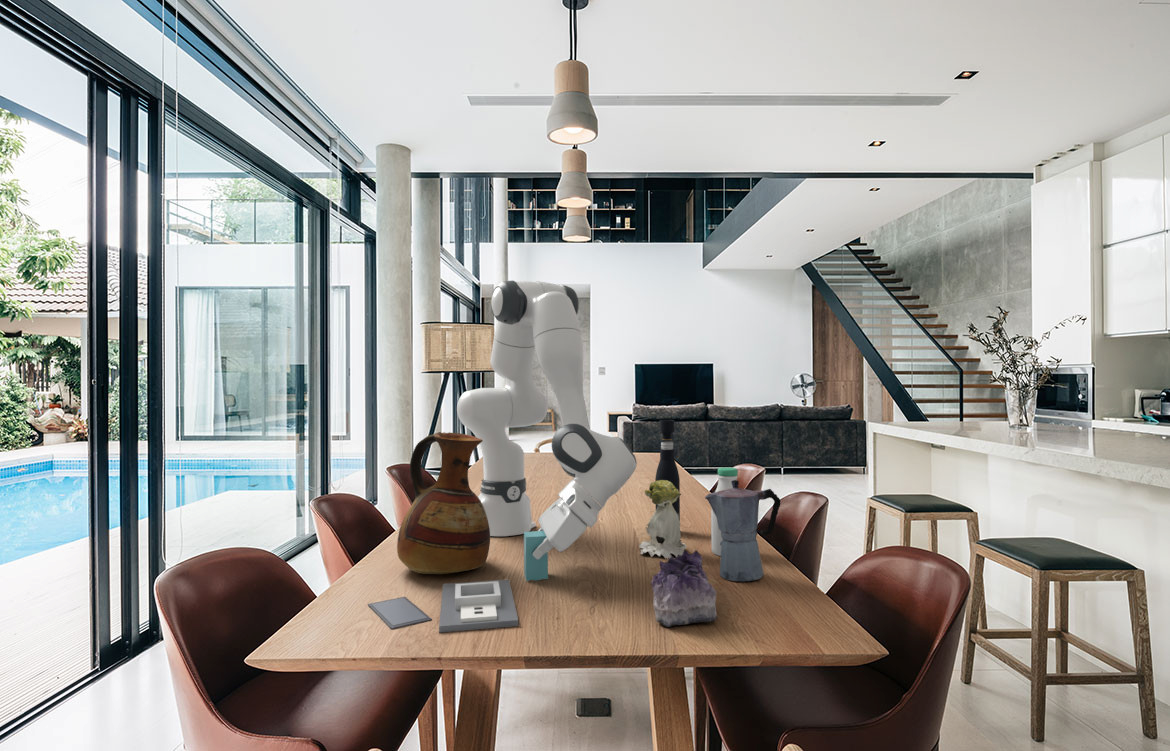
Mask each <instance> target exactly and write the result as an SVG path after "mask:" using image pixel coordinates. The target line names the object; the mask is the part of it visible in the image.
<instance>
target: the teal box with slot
mask: <svg viewBox="0 0 1170 751" xmlns="http://www.w3.org/2000/svg"><path fill="white" fill-rule="evenodd" d="M545 538H546V535H545V533H544V531H538V530H536V531H534V530H533V531H529V532H524V533H523V575H524V578H525V581H526V582H529V581H530V580H534V581H542V580H541V579H548V580H549V557H548V556H549V554H548V552H549V551H548V552H547V553H545V554H544V555H543V556H542V557H541V558H540V559H536V558H535V557H534V556H533V554H532V551H533V550H534V549H535V548H536V547H538V546H539V545H540V544H541V543H543V540H544V539H545Z"/></svg>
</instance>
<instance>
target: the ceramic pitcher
mask: <svg viewBox="0 0 1170 751" xmlns="http://www.w3.org/2000/svg"><path fill="white" fill-rule="evenodd" d="M482 441H483V440H482V439H479V438H477V437H476V436H473V435H470V434H469V435H468V434H466V433H458V432H450V431H449V432H445V431H443V432H441V431H439V432H435V433H433V434H431V435H430V434H429V435H427V436H426V437H423V439H421V440H420V441H418V443H417V444H416V445H415V446H414V449H413V452H412V454H411V457H410V461H409V474H410V479H411V482H412V486H413V490H414V493H415V494H414V496H415V497H414V501H413V502H412V503H411V505H410V506H409V508H408V510H407V511H406V513H405V515H404V517H403V519H402V522H401V525H400V527H399V531H398V535H397V542H396V551H397V556H398V559H399V561H401V563H402V564H403V565H404V566H406V568H408V569H409V570H411V571H412V572H415V573H419V574H424V575H448V574H453V573H454V574H455V573H462V572H465V571H467V572H468V571H471V570H472V571H473V570H475V569H478V568H481V567H482V566H484V565H485V563H486V561H487V559H488V556H489V552H490V545H491V536H490V528H489V524H488V519H487V515H486V512H485V509H484V507H483V505H482V503H481V501H480V499H479V498H478V495H477V494H476V493H475V492H474V491H473V490H472V489H471V488H470V484H469V467H470V465H471V463H470V462H471V457H472V455H473V452H474V450H475V449H476V448H477V447H478V446H480V443H481V442H482ZM436 442H437V443H438V447H439V448H440V452H441V466H440V470H439V474H438V477H437V479H436V482H434V484H433V485H432V486H429V487H427V486H426V485H425V482H424V479H423V474H422V473H423V472H422V462H423V458H424V455H425V453H426V451H427V450H428V448H429V446H431V445H432V444H434V443H436Z"/></svg>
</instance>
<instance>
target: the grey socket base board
mask: <svg viewBox="0 0 1170 751" xmlns="http://www.w3.org/2000/svg"><path fill="white" fill-rule="evenodd" d="M441 592H442V593H441V601H440V611H439V612H440V613H439V625H438V632H439V633H449V632H450V633H451V632H459V631H460V632H461V631H462V632H463V631H471V630H472V631H473V630H486V629H497V628H507V627H509V628H510V627H512V628H513V627H519V617H518V612H517V609H516V608H517V607H516V604H515V600H514V595H513V591H512V587H511V582H510V579H509V578H508V579H494V580H492V579H491V580H481V581H480V580H479V581H465V582H464V581H463V582H450V583H448V582H447V583H442V591H441Z"/></svg>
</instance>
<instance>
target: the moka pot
mask: <svg viewBox="0 0 1170 751" xmlns="http://www.w3.org/2000/svg"><path fill="white" fill-rule="evenodd" d="M731 483H732V486H733V488H731V489H726V490H722V491H718V492H715V491H714V492H711V493H708V494H707V495H705V496H704V499H705V500H707V502H708V504H709V505H710V507H711V509H712V510H713V511H714V513H715V515H716V517H717V522H718V527H719V530H721V537H722V541H721V542H720V545H721V556H720V564H719V565H720V566H719V576H720V577H721V578H722V579H725V580H728V581H731V582H752V581H757V580H760V579H761V578H763V577H764V568H763V563H762V558H761V554H760V548H759V543H758V540H757V535H758V531H757V528H758V526H759V525H758V523H759V522H758V521H759V510H760V508H759V507H760V501H763V500H767V499H772V500H773V505H772V510H771V514H770V517H769V518H770V519H769V523H768V527H767V529H764V530H763V529H762V530H760V531H759V532H760V534H761V536H764V535H765V536H767V535H771V534H773V532H774V527H775V524H776V522H777V521H776V519H777V516H778V513H779V509H780V507H781V503H782V502H781V499H780V498H779V497H778V495H777V494H776V493H775V492H774V491H773V490H772V489H771V488H767V489H764V490H763V489H762V490H751V489H745V488H740V487H739V483H740V482H739V480H733V481H731Z"/></svg>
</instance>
